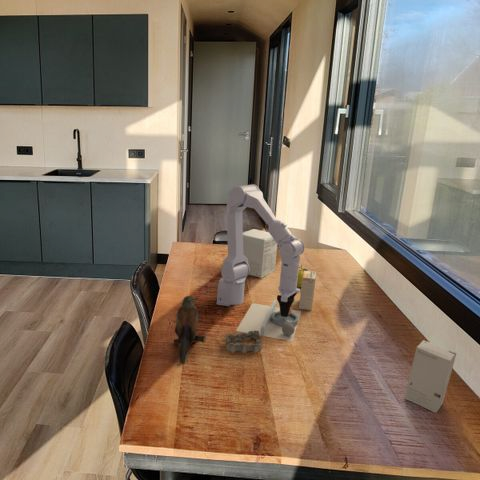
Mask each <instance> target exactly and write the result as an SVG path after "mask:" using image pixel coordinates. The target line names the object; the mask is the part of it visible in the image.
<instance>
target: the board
mask: <svg viewBox="0 0 480 480" xmlns="http://www.w3.org/2000/svg"><path fill="white" fill-rule="evenodd" d="M270 308H271V305H266V304H261V303H255V302H254V303H253V302H252V303H251V304H250V307H249V308H248V310H247V311H246V313H245V315H244V316H243V318H242V320H241V321H240V323H239V325H238V326H237V328H236V329H235V332H239V333H248V332H249V331H259V334H260V337H262V336H261V326H262V324H263V322H264V320H265V318H266V316H267V314H268V312H269V310H270ZM278 311H280V306H277V307H276V310H275V312H278ZM292 313H294V314H295V315H297V316H298V317H299V318H298V322H299V320H300V317H301V314H302V311H301V310H295V309H292ZM297 327H298V324H297V325H296V326H294V328H295V331H294V333H293V334H292V335H290V336H287V335H285V334H284V333H283V332H282V327H281V326H278V325H276V324H274V323H273V322H272V321H270V323H269V325H268V328H267V330H266V332H265V334H264V336H263V337H267V338H272V339H277V340H283V341H288V342H293V341H294V337H295V334H296V330H297Z"/></svg>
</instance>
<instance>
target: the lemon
mask: <svg viewBox="0 0 480 480" xmlns="http://www.w3.org/2000/svg"><path fill="white" fill-rule="evenodd" d="M304 271H309V270H308V269H306V268H303V264H301V265H300V266H299V271H298V280H297V288H301V285H302V277H303V272H304Z"/></svg>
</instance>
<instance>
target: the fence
mask: <svg viewBox="0 0 480 480" xmlns="http://www.w3.org/2000/svg"><path fill="white" fill-rule="evenodd" d="M277 305H278V300H277V298H274V299H273V301H272V303H271V305H270V306H271V308H270V310H269V312H268V314H267V316H266V318H265V320H264V322H263V324H262V326H261V336H260V337H265V336H264V334H265V332H266V330H267V328H268V325H269V323H270V321H271V316H272V314H273V312H275V310H276V307H278V306H277Z"/></svg>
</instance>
